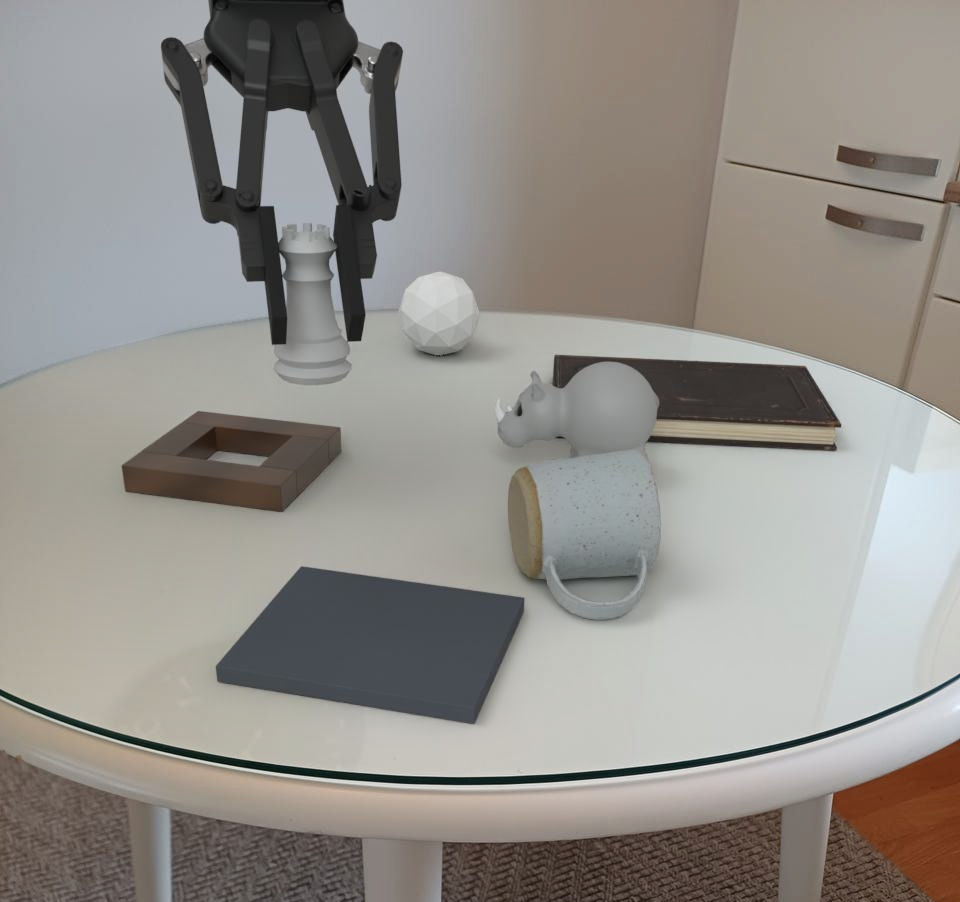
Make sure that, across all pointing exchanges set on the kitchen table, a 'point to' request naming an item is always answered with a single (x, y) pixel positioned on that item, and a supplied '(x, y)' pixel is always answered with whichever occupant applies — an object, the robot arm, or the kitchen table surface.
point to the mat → (377, 643)
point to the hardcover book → (727, 402)
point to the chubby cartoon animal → (584, 411)
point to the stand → (270, 486)
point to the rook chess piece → (310, 311)
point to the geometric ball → (439, 313)
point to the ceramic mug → (586, 525)
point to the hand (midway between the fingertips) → (318, 329)
